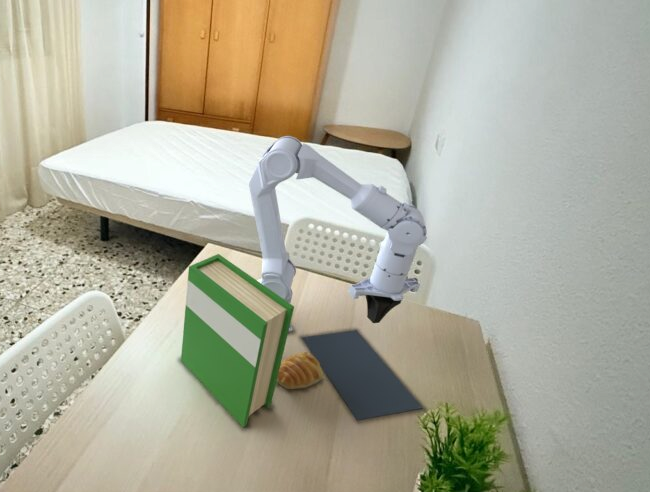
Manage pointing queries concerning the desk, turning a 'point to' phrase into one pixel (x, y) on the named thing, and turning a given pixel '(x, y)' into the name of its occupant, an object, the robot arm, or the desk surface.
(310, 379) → the pastry
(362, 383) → the napkin
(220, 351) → the hardback book
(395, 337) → the desk surface
